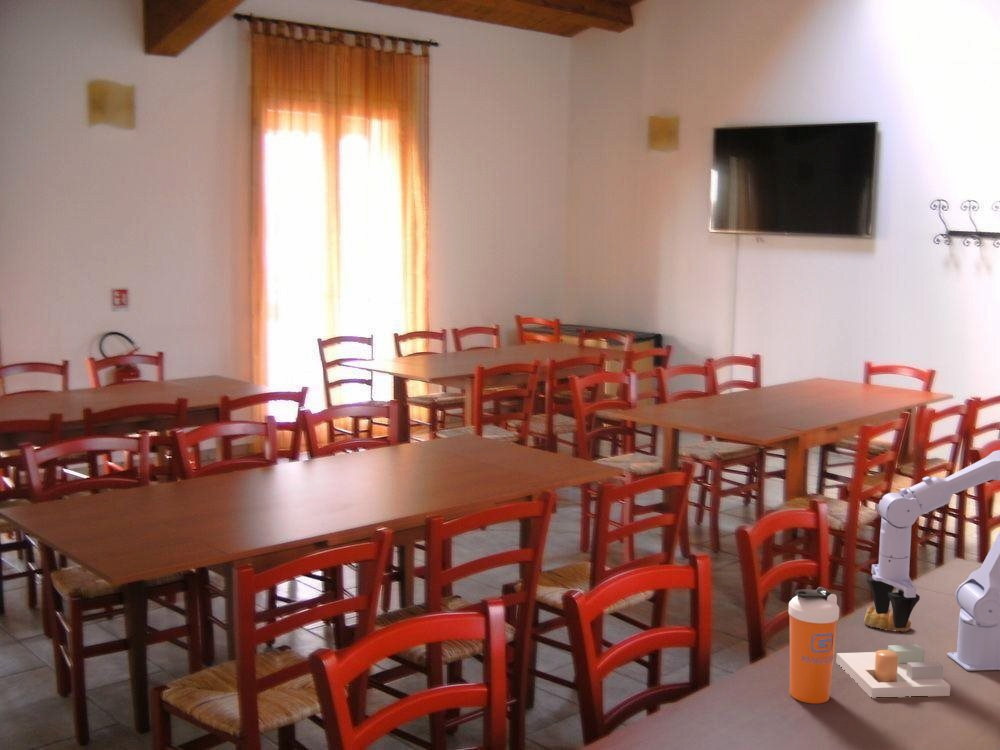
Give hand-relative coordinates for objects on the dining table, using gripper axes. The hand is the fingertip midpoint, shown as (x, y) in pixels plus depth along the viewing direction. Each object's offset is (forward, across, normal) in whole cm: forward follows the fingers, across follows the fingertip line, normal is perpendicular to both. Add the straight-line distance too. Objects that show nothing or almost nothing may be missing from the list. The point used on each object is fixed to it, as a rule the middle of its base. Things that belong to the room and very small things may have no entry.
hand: (890, 620), depth 206 cm
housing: (+8, +8, -3) cm, 12 cm away
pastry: (+9, -19, +8) cm, 22 cm away
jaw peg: (+8, +11, -6) cm, 15 cm away
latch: (+6, +5, +1) cm, 8 cm away
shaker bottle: (+9, +14, -22) cm, 27 cm away
